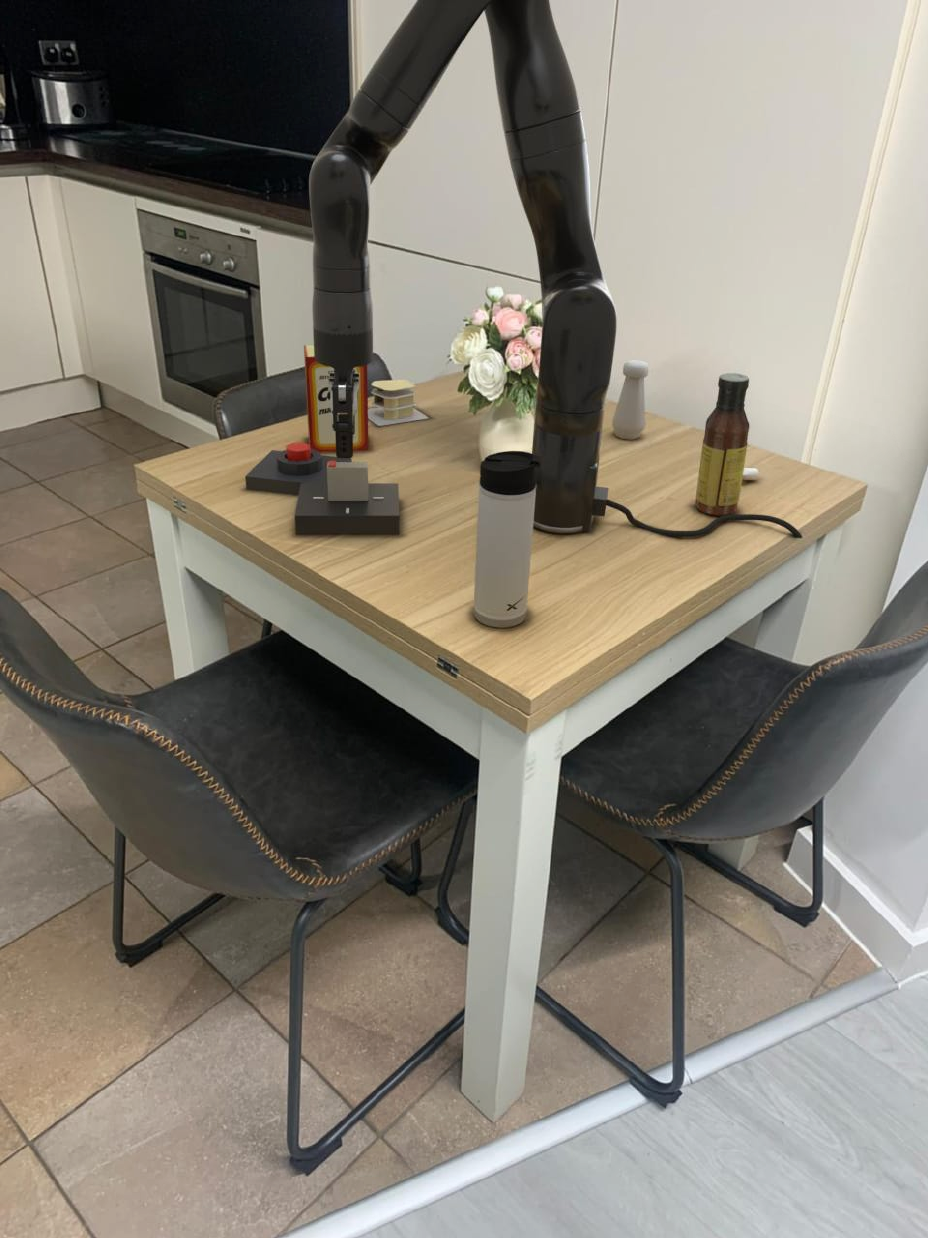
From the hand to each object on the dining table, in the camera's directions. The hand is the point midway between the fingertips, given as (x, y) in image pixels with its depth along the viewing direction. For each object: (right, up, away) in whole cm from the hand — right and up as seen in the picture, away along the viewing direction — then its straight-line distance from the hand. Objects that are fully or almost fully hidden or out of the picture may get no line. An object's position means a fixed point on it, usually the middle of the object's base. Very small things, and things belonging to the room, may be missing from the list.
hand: (345, 445), depth 128 cm
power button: (-9, +1, +15) cm, 17 cm away
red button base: (-9, -2, +16) cm, 19 cm away
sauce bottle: (+53, -7, +13) cm, 55 cm away
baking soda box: (-5, +5, +30) cm, 31 cm away
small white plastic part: (+60, -2, +22) cm, 64 cm away
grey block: (0, -7, +4) cm, 8 cm away
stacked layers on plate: (+3, +13, +43) cm, 46 cm away
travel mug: (+20, -23, -16) cm, 35 cm away
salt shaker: (+45, +9, +38) cm, 59 cm away
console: (0, -9, +6) cm, 11 cm away
